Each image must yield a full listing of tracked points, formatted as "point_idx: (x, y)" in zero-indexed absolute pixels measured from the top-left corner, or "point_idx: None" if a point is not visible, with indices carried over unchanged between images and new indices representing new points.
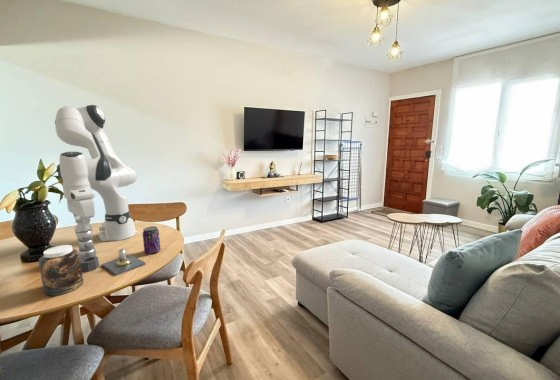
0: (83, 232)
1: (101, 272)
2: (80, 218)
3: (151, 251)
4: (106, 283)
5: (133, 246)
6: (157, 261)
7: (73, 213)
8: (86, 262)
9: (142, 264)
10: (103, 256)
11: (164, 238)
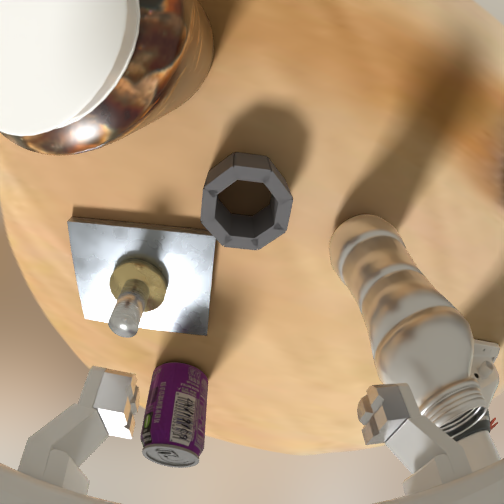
0: (389, 333)
1: (147, 199)
2: (385, 443)
3: (155, 372)
4: (37, 168)
5: (298, 371)
6: (86, 339)
7: (402, 502)
8: (211, 187)
9: (84, 307)
10: (320, 282)
11: (260, 428)
